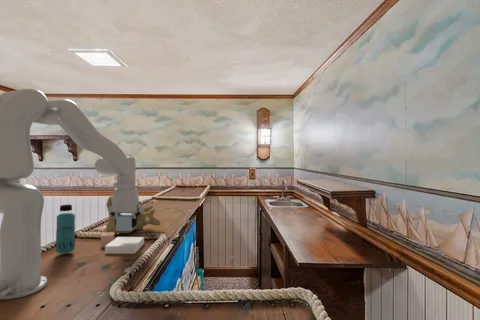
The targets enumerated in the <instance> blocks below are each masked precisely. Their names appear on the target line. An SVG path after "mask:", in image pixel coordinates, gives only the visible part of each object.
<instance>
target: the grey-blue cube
mask: <svg viewBox="0 0 480 320" xmlns="http://www.w3.org/2000/svg"><path fill="white" fill-rule="evenodd" d="M132 219H133V216H132V214H131V213H121V214H120V215H118V216H116V231H131V230H132V229H133V228H132ZM135 227H136V226H135ZM135 227H134V228H135Z"/></svg>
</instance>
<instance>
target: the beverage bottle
mask: <svg viewBox="0 0 480 320" xmlns="http://www.w3.org/2000/svg"><path fill="white" fill-rule="evenodd" d="M72 210H73V205H72V204H62V205H60V206H59V212H60V213H59V214H58V215H57V216H56V230H55V232H56V233H55V235H56V236H55V251H56V253H57V254H63V255H64V254H68V253H71V252H73V251H75V248H76V241H75V240H76V239H75V237H76V223H75V221H76V220H75V219H76V215H75V214H74V213H73V212H72ZM70 211H71V212H70Z"/></svg>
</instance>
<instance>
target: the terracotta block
mask: <svg viewBox="0 0 480 320" xmlns="http://www.w3.org/2000/svg"><path fill="white" fill-rule="evenodd" d="M114 233H115V232H107V233H106V232H102V233H101V235H100V248H105V246H106V245H107V244H109V243H110V242H111V241H113V240H114V239H115V236H114Z"/></svg>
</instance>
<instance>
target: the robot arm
mask: <svg viewBox="0 0 480 320" xmlns="http://www.w3.org/2000/svg"><path fill="white" fill-rule="evenodd" d="M34 123H35V124H39V125H40V124H41V125H50V126H57V125H58V126H59V127H60V128H61V129H62V130H63V131H64V132H65V133H66V135H68V137H70V139H71V140H72V141H73V142H74V144H75V145H77V146H78V147H79V148H81V149H84V150H86V151H88V152H90V153H93V154H95V155H98V156H99V158H97V159H96V161H95V163H94V170H96V172H97V173H99V174H101V175H105V176H115V179H116V181H115V182H113V183H112V186H114V187H115V188H114V189H113V193H112V197H113V200H112V205H111V206H110V207H109V208H107V212H108V211H109V212H110V213H111V215H112V216H113V217H114V218H115V225H116V216H118V215H120V213H131V214H132V216H133V219H132V228H134V227H135V226H136V225H137V217H138V216H139V215H140V214H141V213H142V212H143V211H144V210H145V209H144V208H143V207H144V206H142V204H141V205H140V204H139V201H140V198H139V191H138V188H137V187H136V158H135V157H133V156H127V155H126V153H125V152H124V151H123V150H122V148H120V147H119V145H118V144H116V143H115V142H113V141H112V140H110V139H109V138H108V137H106V136H105V135H103V134H102V133H100V132H99V131H98V129H96V128H95V126H94V125H93V123H92V122H91V121H90V119H89V118H88V117H87V116H86V115H85V113H84V112H83V110H81V108H80V107H79V106H78V105H77V104H76V103H75V102H74V101H73V100H70V99H64V98H63V99H53V100H49V99H48V98H47V96H46V94H44V93H43V92H42V91H40V90H38V89H35V88H21V89H16V90H11V91H9V90H8V91H5V92H2V93H1V94H0V214H3V215H2V220H1V224H0V300H3V299H4V300H14V298H15V299H19V298H22V297H26V296H29V295H32V294H34V293H36V292H37V293H38V292H39V291H40V290H42V289H44V288H45V287H46V286H47V284H48V279H47V277H46V276H43V275H42V234H41V233H42V232H41V231H42V227H41V226H42V218H43V217H42V215H43V212H44V207H45V206H44V205H45V197H44V194H43V193H42V191H41V190H40V189H39V188H37V187H36V186H33V185H31V184H26V183H21V180H25V179H27V178H28V177H30V176H31V175H32V174H33V172H34V169H35V163H34V156H33V151H32V150H33V149H32V144H31V128H32V125H33V124H34ZM138 209H140V211H139V212H138V213H137V211H136V210H138Z"/></svg>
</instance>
